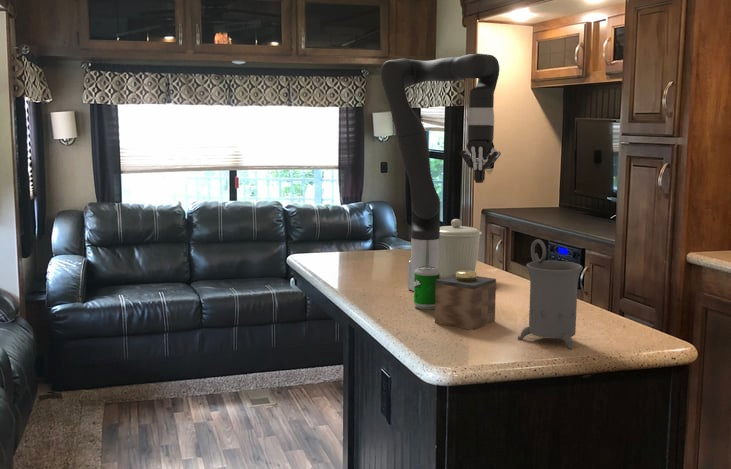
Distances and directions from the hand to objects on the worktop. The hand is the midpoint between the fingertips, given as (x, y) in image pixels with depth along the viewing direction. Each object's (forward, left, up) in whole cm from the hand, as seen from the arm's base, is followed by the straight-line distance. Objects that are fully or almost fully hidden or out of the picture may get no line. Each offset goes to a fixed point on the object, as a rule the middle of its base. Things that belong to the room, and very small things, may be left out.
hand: (479, 182), depth 232 cm
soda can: (-10, -12, -37) cm, 40 cm away
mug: (+34, -22, -37) cm, 55 cm away
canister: (-27, +32, -37) cm, 56 cm away
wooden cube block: (+8, -20, -37) cm, 43 cm away
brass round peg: (+8, -20, -35) cm, 41 cm away
